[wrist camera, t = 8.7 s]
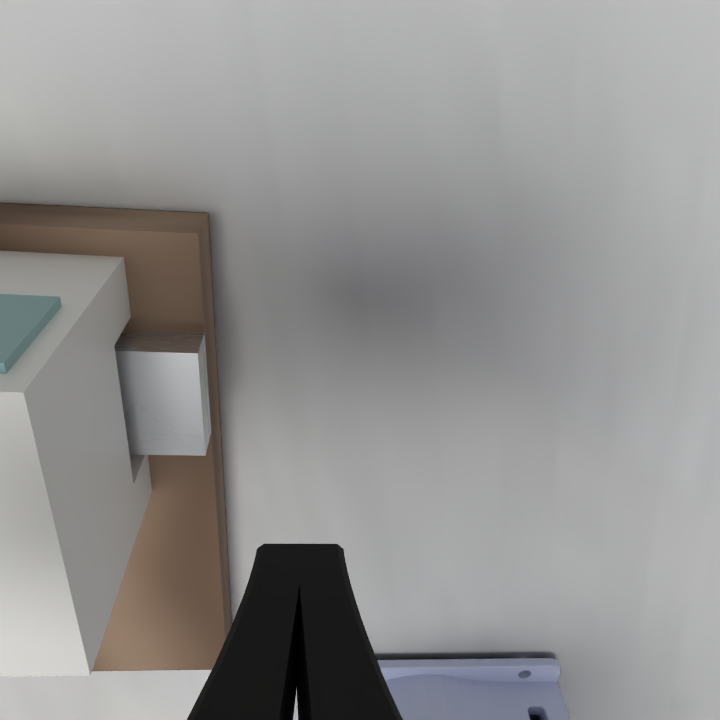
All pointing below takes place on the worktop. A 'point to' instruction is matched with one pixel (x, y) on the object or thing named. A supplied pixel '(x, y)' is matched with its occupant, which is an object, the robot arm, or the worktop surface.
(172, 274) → the board
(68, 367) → the block
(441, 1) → the worktop surface
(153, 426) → the rail
